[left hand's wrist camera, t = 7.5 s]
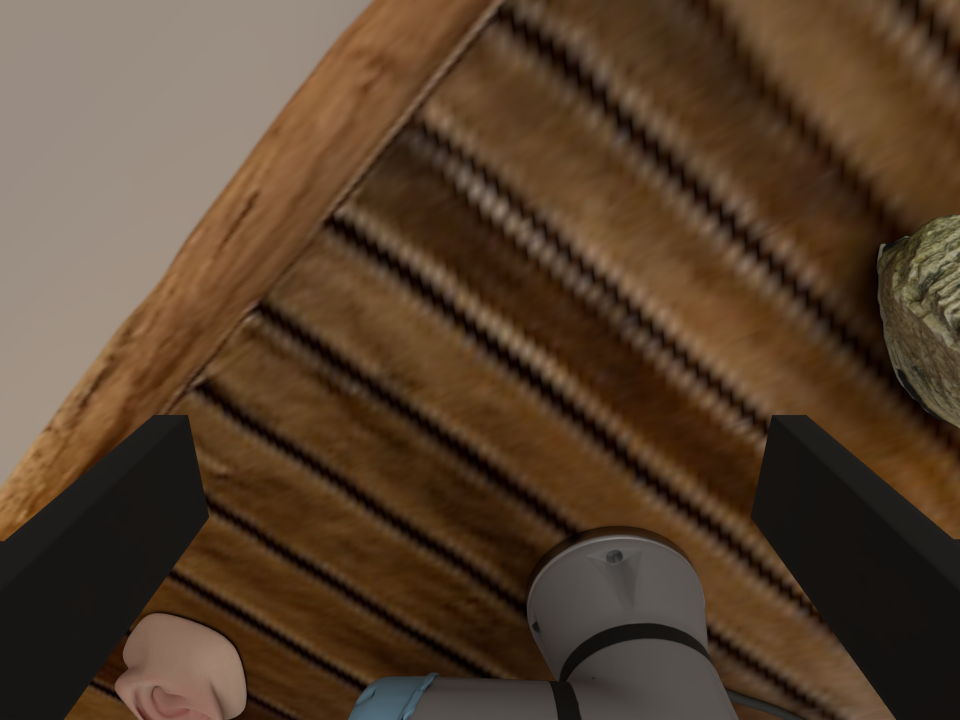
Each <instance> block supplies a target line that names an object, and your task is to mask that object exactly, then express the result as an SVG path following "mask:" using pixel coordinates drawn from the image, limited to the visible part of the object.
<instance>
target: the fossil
mask: <svg viewBox="0 0 960 720" xmlns="http://www.w3.org/2000/svg"><path fill="white" fill-rule="evenodd" d="M877 271H878V275H879V288H878V301H879V304H880V315H881V318H882V320H883V325H884V339H885V342H886V346H887V349H888V352H889V356H890V359H891V363H892V366H893V369H894V371H895V374H896V376H897V378H898V380H899V382H900V383H901V385H902V386H903V387H904V388H905V389H906V390H907V391H908V393H909V394H910V395H911V397H912V398H913V399H915V400H916V401H917V402H919V403H920V405H921V406H922V408H923V409H924V410H926V411H927V412H928V413H929V414H931V415H933V416H934V417H936V418H937V419H939V420H942V421H945V422H949V423H951V424H953V425H955V426H957V427H958V428H959V429H960V215H949V216H945V217H940V218H935V219H933V220H931V221H929V222H927V223H925V224H923V225H922V226H921V227H920V228H919V229H918V230H917V231H916V232H915V233H914V234H913V235H912V236H911V237H908V236H905V237H903V238H901V239H899V240H897V241H896V242H894V243H892V244H881V246H880V250H879V255H878V260H877Z"/></svg>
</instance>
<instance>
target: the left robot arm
mask: <svg viewBox="0 0 960 720" xmlns="http://www.w3.org/2000/svg"><path fill="white" fill-rule="evenodd" d="M208 518H209V514H208V509H207V505H206V500H205V495H204V490H203V485H202V481H201V476H200V471H199V466H198V461H197V457H196V452H195V447H194V442H193V437H192V433H191V428H190V423H189V418H188V415H153V416H152V417H151V418H150V419H149V420H147V421H146V422H145V423H144V424H143V425H141V426H140V427H139V428H138V429H137V430H136V431H134V432H133V433H132V434H131V435H130V436H128V437H127V438H126V439H125V440H124V441H122V442H121V443H120V444H119V445H118V446H117V447H115V448H114V449H113V450H112V451H111V452H109V453H108V454H107V455H106V456H105V457H104V458H102V459H101V460H100V461H99V462H98V463H96V464H95V465H94V466H93V467H92V468H90V469H89V470H88V471H87V472H86V473H85V474H83V475H82V476H81V477H80V478H79V479H77V480H76V481H75V482H74V483H73V484H71V485H70V486H69V487H68V488H67V489H66V490H64V491H63V492H62V493H61V494H60V495H58V496H57V497H56V498H55V499H54V500H53V501H51V502H50V503H49V504H48V505H47V506H45V507H44V508H43V509H42V510H41V511H39V512H38V513H37V514H36V515H35V516H34V517H32V518H31V519H30V520H29V521H28V522H26V523H25V524H24V525H23V526H22V527H20V528H19V529H18V530H17V531H16V532H15V533H13V534H12V535H11V536H10V537H9V538H7V539H6V540H5V541H0V720H64V719H65V717H66V716H67V714H68V713H69V712H70V710H71V709H72V707H73V706H74V705H75V703H76V702H77V700H78V699H79V698H80V696H81V695H82V693H83V692H84V691H85V689H86V688H87V687H88V685H89V684H90V682H91V681H92V680H93V678H94V677H95V675H96V674H97V673H98V671H99V670H100V668H101V667H102V666H103V664H104V663H105V661H106V660H107V659H108V657H109V656H110V655H111V653H112V652H113V650H114V649H115V648H116V646H117V645H118V643H119V642H120V641H121V639H122V638H123V636H124V635H125V634H126V632H127V631H128V629H129V628H130V627H131V625H132V624H133V622H134V621H135V620H136V618H137V617H138V616H139V614H140V613H141V611H142V610H143V609H144V607H145V606H146V604H147V603H148V602H149V600H150V599H151V597H152V596H153V595H154V593H155V592H156V590H157V589H158V588H159V586H160V585H161V584H162V582H163V581H164V579H165V578H166V577H167V575H168V574H169V572H170V571H171V570H172V568H173V567H174V565H175V564H176V563H177V561H178V560H179V558H180V557H181V556H182V554H183V553H184V551H185V550H186V549H187V547H188V546H189V545H190V543H191V542H192V540H193V539H194V538H195V536H196V535H197V533H198V532H199V531H200V529H201V528H202V526H203V525H204V524H205V522H206V521H207V519H208ZM751 518H752V519H753V521H754V522H755V524H756V525H757V526H758V528H759V529H760V531H761V532H762V533H763V535H764V536H765V538H766V539H767V540H768V542H769V543H770V545H771V546H772V547H773V549H774V550H775V551H776V553H777V554H778V556H779V557H780V558H781V560H782V561H783V563H784V564H785V565H786V567H787V568H788V570H789V571H790V572H791V574H792V575H793V577H794V578H795V579H796V581H797V582H798V584H799V585H800V586H801V588H802V589H803V590H804V592H805V593H806V595H807V596H808V597H809V599H810V600H811V602H812V603H813V604H814V606H815V607H816V609H817V610H818V611H819V613H820V614H821V616H822V617H823V618H824V620H825V621H826V622H827V624H828V625H829V627H830V628H831V629H832V631H833V632H834V634H835V635H836V636H837V638H838V639H839V641H840V642H841V643H842V645H843V646H844V648H845V649H846V650H847V652H848V653H849V655H850V656H851V657H852V659H853V660H854V661H855V663H856V664H857V666H858V667H859V668H860V670H861V671H862V673H863V674H864V675H865V677H866V678H867V680H868V681H869V682H870V684H871V685H872V687H873V688H874V689H875V691H876V692H877V693H878V695H879V696H880V698H881V699H882V700H883V702H884V703H885V705H886V706H887V707H888V709H889V710H890V712H891V713H892V714H893V716H894V717H895V719H896V720H960V539H953V538H951V537H950V536H949V535H948V534H947V533H945V532H944V531H943V530H942V529H941V528H940V527H938V526H937V525H936V524H935V523H934V522H932V521H931V520H930V519H929V518H928V517H926V516H925V515H924V514H923V513H922V512H921V511H919V510H918V509H917V508H916V507H915V506H913V505H912V504H911V503H910V502H909V501H907V500H906V499H905V498H904V497H903V496H902V495H900V494H899V493H898V492H897V491H896V490H894V489H893V488H892V487H891V486H890V485H889V484H887V483H886V482H885V481H884V480H883V479H881V478H880V477H879V476H878V475H877V474H875V473H874V472H873V471H872V470H871V469H870V468H868V467H867V466H866V465H865V464H864V463H862V462H861V461H860V460H859V459H858V458H856V457H855V456H854V455H853V454H852V453H851V452H849V451H848V450H847V449H846V448H845V447H843V446H842V445H841V444H840V443H839V442H838V441H836V440H835V439H834V438H833V437H832V436H830V435H829V434H828V433H827V432H826V431H824V430H823V429H822V428H821V427H820V426H819V425H817V424H816V423H815V422H814V421H813V420H811V419H810V418H809V417H808V416H807V415H772V418H771V423H770V428H769V433H768V437H767V442H766V447H765V452H764V457H763V461H762V466H761V471H760V476H759V481H758V485H757V490H756V495H755V500H754V505H753V509H752V514H751ZM526 606H527V616H528V622H529V626H530V629H531V632H532V635H533V638H534V640H535V642H536V644H537V646H538V648H539V650H540V652H541V653H542V655H543V657H544V659H545V661H546V663H547V665H548V667H549V669H550V671H551V672H552V674H553V676H554V678H555V680H556V681H543V680H512V679H489V678H466V677H443V676H439V673H430V674H428V675H427V676H400V677H384V678H381V679H378V680H376V681H374V682H373V683H372V684H370V685H369V686H368V687H367V688H366V689H365V690H364V691H363V693H362V694H361V696H360V697H359V698H358V700H357V702H356V704H355V706H354V708H353V710H352V712H351V714H350V716H349V719H348V720H739V719H738V717H737V715H736V713H735V711H734V708H733V706H732V704H731V702H730V700H731V701H733V702H736V703H739V704H742V705H745V706H748V707H751V708H755V709H758V710H761V711H764V712H767V713H770V714H773V715H775V716H778V717H780V718H782V719H784V720H805V719H803V718H801V717H799V716H796V715H794V714H792V713H790V712H788V711H785V710H783V709H781V708H779V707H776V706H774V705H771V704H768V703H765V702H762V701H759V700H756V699H753V698H750V697H746V696H743V695H740V694H738V693H735V692H732V691H730V690H728V689H725V688H724V686H723V684H722V682H721V680H720V678H719V675H718V673H717V671H716V669H715V667H714V665H713V662H712V660H711V658H710V655H709V653H708V643H707V630H706V619H705V598H704V593H703V588H702V585H701V582H700V579H699V577H698V575H697V573H696V571H695V569H694V567H693V565H692V563H691V562H690V560H689V558H688V557H687V556H686V554H685V553H684V552H683V551H682V550H681V549H680V548H679V547H678V546H677V545H675V544H674V543H673V542H671V541H670V540H668V539H666V538H665V537H663V536H661V535H659V534H656V533H653V532H651V531H647V530H643V529H639V528H632V527H606V528H599V529H594V530H590V531H587V532H584V533H581V534H578V535H576V536H573V537H571V538H569V539H567V540H565V541H564V542H562V543H561V544H559V545H558V546H556V547H555V548H554V549H552V550H551V551H550V552H549V553H548V554H547V555H546V556H545V557H544V558H543V559H542V560H541V561H540V563H539V564H538V565H537V567H536V568H535V570H534V572H533V573H532V576H531V578H530V580H529V583H528V587H527V592H526Z"/></svg>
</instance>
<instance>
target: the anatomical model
mask: <svg viewBox="0 0 960 720" xmlns="http://www.w3.org/2000/svg"><path fill="white" fill-rule="evenodd" d="M123 658H124V661H125V664H126V665H127V667H128V668H129V669H128V670H127V671H126V672H124V673H123V674H122V675H121V676H120V677H119V678H118V680H117V681H116V684H115V690H116V692H117V694H118V695H119V696H120V698H121V699H122V700H123V701H124V703H125V704H126V705H127V706H128V707H129V709H130V710H131V711H132V712H133V713H134V715H135V716H136V717H137V718H138V719H139V720H229V719H232V718H234V717H236V716H238V715H239V714H240V713H242V711H243V710H244V708H245V705H246V697H247V694H246V683H245V677H244V672H243V667H242V664H241V661H240V658H239V655H238V653H237V651H236V649H235V648H234V646H233V645H232V644H231V643H230V642H229V641H228V640H227V639H226V638H225V637H224V636H222V635H221V634H219V633H218V632H216V631H214V630H212V629H210V628H208V627H206V626H203V625H201V624H198V623H196V622H193V621H190V620H187V619H184V618H181V617H177V616H173V615H169V614H162V613H154V614H150V615H148V616H146V617H144V618H143V619H142V620H141V621H140V622H139V623H138V625H137V626H136V628H135V629H134V630H133V632H132V633H131V635H130V636H129V638H128V640H127V643H126V645H125V648H124V651H123Z"/></svg>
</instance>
